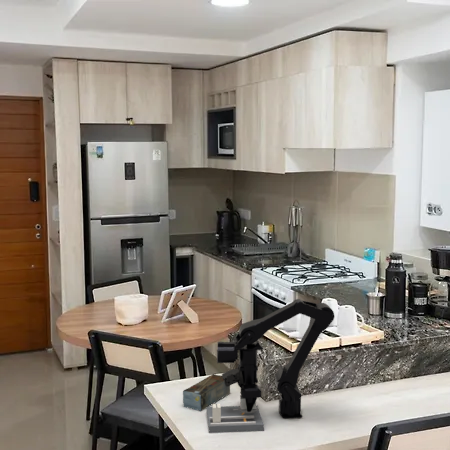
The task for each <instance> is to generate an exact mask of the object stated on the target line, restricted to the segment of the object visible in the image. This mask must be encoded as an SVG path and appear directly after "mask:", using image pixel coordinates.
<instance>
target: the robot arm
mask: <svg viewBox="0 0 450 450" xmlns="http://www.w3.org/2000/svg"><path fill="white" fill-rule="evenodd" d="M298 315H303V316H306V317H308V318H310V319H309V322H308V326H307V328H306V330H305V332H304V334H303V336H302V337H301V339H300V341H299V343H298V345H297V346H296V349H295V350H294V352H293V354H292V356H291V357H290V359H289V361H288V363H287V364H285V366H283V365H282V364H279V367H278V369H277V372H275V374H274V376H275V377H274V383H275V386H276V388H277V391H278V392H279V394H280V399H278V412H279V414H280V416H281V418H282V419H296V418H297V419H299V418H302V417H303V415H302V411H301V410H302V409H301V408H302V393H301V390H300V389H299V386H298V384H297V383H298V379H299V375H300V371H301V369H302V367H303V366H304V364H305V362H306V360H307V358H308V357H309V354H310V352H311V351H312V349H313V348H314V346H315V344H316V342H317V341H318V338H319V337H320V335H321V334H322V333H323V332H324V331H326V330H327V329H328V328H329V326H330V325H331V324H332V322H333V321H334V319H335V312H334V311H333V309H332V308H331V307H330V305H328V304H327V303H325V302H319V303H316V302H315V303H314V302H313V301H308V300H307V301H306V300H302V299H301V298H297V299H294V300H293V301H292V302H290V303H288V304H286V305H284V306H283V307H280V308H279V309H277V310H275V311H273V312H271V313H269V314H267V315H265V316H263V317H261V318H257V319H252V320H249V321H247V322H244V323H242V324H241V325H240V326H239V330H238V333H237V334H236V336H235V337H234V339H233V341H217V349H216V363H217V364H235V362H237V360H239V363H238V364H237V368H233V369H230V370H228V371H225V372H223V373H222V374H221V376H222V378H223V380H224V383H225V386H226V387H228V386H230V387H231V386H232V385H234V384H237V386H238V387H239V388H240V395H241V396H242V398H245V401H246V407H247V411H248V412H251V410H252V408H253V406H254V404H255V402H256V403H257V400H258V398H262V389H261V387H260V386H259V385H258V383H259V379H258V371H259V367H258V351H263V350H264V346H263V345H262V344H261V343H260V341H259V340H260V339H261V338H262V337H264V335H265V334H266V333H267V332H269V331H270V330H272V329H274V328H275V327H277V326H279V325H281V324H283V323H285V322H287V321H288V320H291V319H292V318H295V317H296V316H298ZM238 353H239V355H238Z"/></svg>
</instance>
